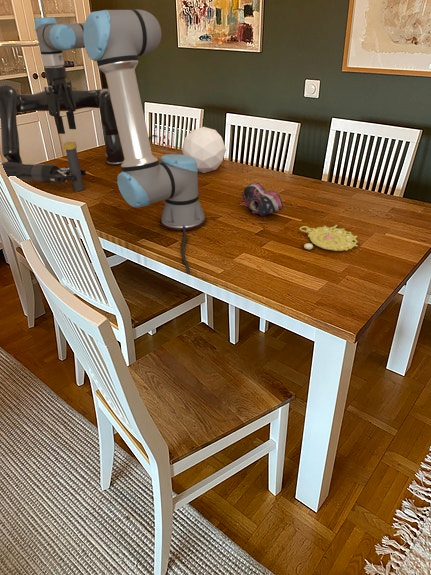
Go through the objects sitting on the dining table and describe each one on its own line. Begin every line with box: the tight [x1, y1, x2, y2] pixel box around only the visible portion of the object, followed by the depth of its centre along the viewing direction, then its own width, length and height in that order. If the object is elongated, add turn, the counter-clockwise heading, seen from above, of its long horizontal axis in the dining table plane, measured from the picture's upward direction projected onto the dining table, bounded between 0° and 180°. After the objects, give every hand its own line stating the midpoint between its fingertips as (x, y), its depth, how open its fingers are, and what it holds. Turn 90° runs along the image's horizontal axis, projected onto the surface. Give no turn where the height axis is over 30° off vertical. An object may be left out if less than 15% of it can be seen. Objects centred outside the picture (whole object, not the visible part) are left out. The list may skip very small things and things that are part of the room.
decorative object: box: [299, 224, 359, 252], centre depth 141 cm, size 21×2×20 cm
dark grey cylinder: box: [65, 148, 85, 192], centre depth 182 cm, size 4×4×19 cm
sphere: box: [181, 126, 227, 174], centre depth 199 cm, size 19×20×20 cm
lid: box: [63, 141, 78, 151], centre depth 178 cm, size 5×5×2 cm
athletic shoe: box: [238, 182, 284, 217], centre depth 160 cm, size 11×22×12 cm
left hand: (80, 175), depth 184 cm, fingers open, 7 cm apart
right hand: (67, 131), depth 175 cm, fingers open, 7 cm apart
